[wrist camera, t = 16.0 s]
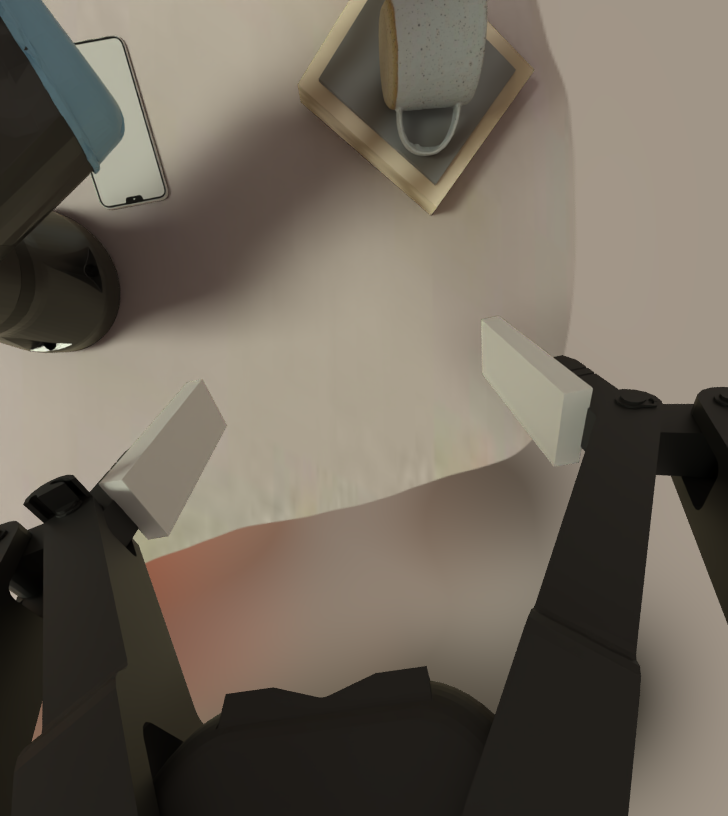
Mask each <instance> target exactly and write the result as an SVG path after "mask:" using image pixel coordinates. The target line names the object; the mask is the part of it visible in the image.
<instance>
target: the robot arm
mask: <svg viewBox="0 0 728 816" xmlns="http://www.w3.org/2000/svg"><path fill="white" fill-rule="evenodd" d="M124 132H125V123H124V117H123V114H122V111H121V109H120V107H119V105H118V103H117V102H116V100H115V99H114V97H113V96H112V94H111V93H110V92H109V90H108V89H107V87H106V86H105V85H104V83H103V82H102V80H101V79H100V78H99V76H98V75H97V74H96V72H95V71H94V70H93V68H92V67H91V66H90V64H89V63H88V61H87V60H86V59H85V57H84V56H83V55H82V53H81V52H80V51H79V49H78V48H77V47H76V45H75V44H74V43H73V41H72V40H71V39H70V37H69V36H68V35H67V33H66V32H65V31H64V29H63V28H62V27H61V26H60V24H59V23H58V22H57V20H56V19H55V18H54V16H53V15H52V14H51V12H50V11H49V10H48V8H47V7H46V6H45V4H44V3H43V2H42V0H0V343H3V344H7V345H10V346H13V347H17V348H20V349H24V350H28V351H33V352H41V353H57V352H71V351H76V350H80V349H83V348H86V347H88V346H90V345H92V344H94V343H95V342H97V341H98V340H99V339H101V338H102V337H103V336H104V335H105V334H106V333H107V331H108V330H109V329H110V327H111V326H112V324H113V322H114V320H115V318H116V315H117V312H118V308H119V301H120V288H119V281H118V277H117V273H116V270H115V267H114V265H113V263H112V260H111V259H110V257H109V255H108V253H107V252H106V250H105V249H104V247H103V246H102V245H101V243H100V242H99V241H98V240H97V239H96V238H95V237H94V236H93V235H92V234H91V233H90V232H89V231H88V230H87V229H85V228H84V227H83V226H81V225H80V224H78V223H77V222H75V221H73V220H71V219H69V218H67V217H65V216H63V215H61V214H58V213H56V212H54V211H53V210H54V209H55V208H56V207H57V206H58V205H59V204H60V203H61V202H62V201H63V200H64V199H65V198H66V197H67V196H68V195H69V194H70V193H71V192H72V191H73V190H74V189H75V188H76V187H77V186H78V185H79V184H80V183H81V182H82V181H83V180H84V179H85V178H86V177H87V176H88V175H89V174H90V173H91V172H93V173H94V174H97V173H98V172H99V171H100V164H101V163H102V162H103V160H104V159H105V158H106V157H107V156H108V155H109V154H110V153H111V151H112V150H113V149H114V148H115V147H116V146H117V145H118V144H119V143H120V141H121V140H122V138H123V136H124ZM481 331H482V374H483V376H484V377H485V378H486V379H487V381H488V382H489V383H490V385H491V386H492V387H493V388H494V390H495V391H496V392H497V394H498V395H499V396H500V398H501V399H502V400H503V401H504V403H505V404H506V405H507V407H508V408H509V409H510V411H511V412H512V413H513V414H514V416H515V417H516V418H517V420H518V421H519V422H520V423H521V425H522V426H523V427H524V429H525V430H526V431H527V433H528V434H529V435H530V436H531V438H532V439H533V440H534V441H535V443H536V444H537V445H538V447H539V448H540V449H541V451H542V452H543V453H544V454H545V456H546V457H547V458H548V460H549V461H550V462H551V464H552V465H553V466H554V467H557V466H562V465H568V464H574V463H579V459H580V453H581V449H584V451H585V454H584V457H583V460H582V463H581V466H580V469H579V472H578V475H577V478H576V481H575V484H574V488H573V491H572V494H571V497H570V500H569V503H568V506H567V509H566V512H565V515H564V518H563V521H562V524H561V527H560V531H559V533H558V537H557V540H556V543H555V546H554V549H553V552H552V555H551V558H550V561H549V564H548V567H547V570H546V573H545V577H544V579H543V583H542V586H541V589H540V592H539V595H538V598H537V601H536V604H535V606H534V608H533V609H531V612H530V614H529V616H528V619H527V621H526V624H525V627H524V630H523V633H522V636H521V639H520V642H519V645H518V648H517V651H516V654H515V657H514V660H513V663H512V666H511V669H510V672H509V675H508V678H507V681H506V684H505V687H504V690H503V693H502V696H501V699H500V702H499V705H498V708H497V711H496V714H493V713H492V712H491V711H490V710H489V709H488V708H486V707H485V706H484V705H483V704H482V703H480V702H479V701H477V700H476V699H474V698H473V697H472V696H470V695H469V694H467V693H465V692H463V691H461V690H459V689H457V688H455V687H452V686H449V685H447V684H444V683H440V682H435V681H430V678H429V675H428V670H427V666H425V667H418V668H410V669H402V670H396V671H389V672H382V673H375V674H373V675H371V676H369V677H367V678H365V679H363V680H361V681H359V682H356V683H354V684H352V685H350V686H348V687H346V688H344V689H342V690H340V691H338V692H336V693H333V694H332V695H330V696H327V697H323V698H319V697H314V696H309V695H305V694H300V693H296V692H291V691H287V690H282V689H278V688H267V689H259V690H252V691H245V692H238V693H231V694H226V696H225V700H224V704H223V708H222V712H221V713H220V714H219V715H217V716H215V717H214V718H213V719H211V720H209V721H208V722H206V723H205V724H203V723H202V722H201V720H200V719H199V717H198V715H197V713H196V710H195V708H194V705H193V702H192V699H191V696H190V693H189V690H188V688H187V685H186V682H185V679H184V676H183V673H182V670H181V667H180V664H179V661H178V658H177V656H176V652H175V650H174V647H173V644H172V641H171V638H170V635H169V632H168V629H167V626H166V623H165V621H164V618H163V615H162V612H161V609H160V606H159V603H158V600H157V597H156V594H155V592H154V589H153V586H152V583H151V580H150V577H149V574H148V571H147V568H146V565H145V562H144V559H143V556H142V554H141V551H140V548H139V545H138V544H137V543H136V542H135V541H134V540H133V536H134V535H135V533H136V531H137V530H138V529H139V530H140V531H141V532H142V533H143V534H144V536H145V537H146V538H147V539H148V540H149V539H154V538H160V537H165V536H169V534H170V532H171V530H172V529H173V527H174V525H175V523H176V521H177V519H178V517H179V515H180V513H181V512H182V510H183V508H184V506H185V504H186V502H187V500H188V498H189V496H190V495H191V493H192V491H193V489H194V487H195V485H196V483H197V481H198V479H199V477H200V476H201V474H202V472H203V470H204V468H205V466H206V464H207V462H208V460H209V459H210V457H211V455H212V453H213V451H214V449H215V447H216V445H217V443H218V442H219V440H220V438H221V436H222V434H223V432H224V430H225V428H226V426H227V424H226V423H225V421H224V419H223V417H222V415H221V413H220V411H219V409H218V407H217V406H216V404H215V402H214V400H213V398H212V396H211V394H210V392H209V391H208V389H207V387H206V385H205V383H204V381H203V379H200V380H195V381H191V382H187V383H186V384H185V385H184V386H183V388H182V389H181V390H180V391H179V392H178V393H177V394H176V396H175V397H174V398H173V399H172V400H171V401H170V402H169V404H168V405H167V406H166V407H165V408H164V409H163V410H162V412H161V413H160V414H159V415H158V416H157V417H156V419H155V420H154V421H153V422H152V423H151V424H150V425H149V427H148V428H147V429H146V430H145V431H144V432H143V433H142V435H141V436H140V437H139V438H138V439H137V440H136V442H135V443H134V444H133V445H132V446H131V447H130V448H129V449H128V450H127V451H125V453H124V454H123V455H122V456H121V457H120V458H119V459H118V461H117V463H115V464H114V465H113V466H112V467H111V470H109V471H108V472H107V473H106V474H105V475H104V476H103V478H102V479H101V480H100V481H99V482H98V483H97V484H96V486H95V487H94V488H93V489H92V490H91V491H90V492H89V491H88V490H87V489H86V488H85V487H84V486H83V485H82V484H81V483H80V482H79V481H78V480H77V479H76V478H75V477H74V475H65V476H61V477H58V478H56V479H54V480H51V481H49V482H47V483H46V484H44V485H42V486H41V487H39V488H38V489H37V490H35V491H34V492H33V493H31V494H30V496H29V497H28V498H27V499H26V500H25V502H24V504H23V505H24V506H25V507H27V508H28V509H29V510H30V511H31V512H32V513H33V514H34V515H36V516H37V517H38V518H39V519H40V520H41V521H42V522H43V523H44V524H42V525H39V526H37V527H34V528H32V529H29V530H27V529H25V528H24V527H23V526H22V525H21V524H20V523H18V522H17V521H11V522H7V523H4V524H1V525H0V816H628V811H629V800H630V790H631V780H632V769H633V758H634V749H635V738H636V728H637V717H638V707H639V696H640V682H641V673H640V666H639V664H638V662H637V661H636V648H637V639H638V629H639V621H640V612H641V603H642V594H643V585H644V575H645V567H646V558H647V549H648V540H649V531H650V521H651V513H652V504H653V495H654V486H655V477H656V475H668V476H671V477H672V480H673V482H674V485H675V488H676V490H677V493H678V495H679V498H680V501H681V503H682V506H683V508H684V511H685V514H686V516H687V519H688V522H689V524H690V527H691V529H692V532H693V535H694V537H695V540H696V542H697V545H698V548H699V550H700V553H701V556H702V558H703V561H704V563H705V566H706V569H707V571H708V574H709V577H710V579H711V582H712V584H713V587H714V590H715V592H716V595H717V597H718V600H719V603H720V605H721V608H722V611H723V613H724V616H725V618H726V621H727V623H728V387H714V388H708V389H704V390H702V391H701V392H700V393H699V394H698V395H697V397H696V400H695V402H694V404H662V401H661V400H660V399H658V398H657V397H656V396H654V395H651V394H649V393H647V392H642V391H638V390H630V389H629V390H628V389H621V390H618V389H617V388H615V387H614V386H613V385H611V384H610V383H608V382H607V381H606V380H604V379H603V378H601V377H600V376H599V375H597V374H594V372H593V371H591V370H590V369H589V368H586V366H584V365H583V364H582V363H580V362H579V361H577V360H575V359H572V358H569V357H566V356H563V355H562V356H557V357H552V356H551V355H549V354H548V353H547V352H545V351H544V350H543V349H541V348H540V347H539V346H538V345H536V344H535V343H534V342H532V341H531V340H530V339H528V338H527V337H526V336H525V335H523V334H522V333H521V332H519V331H518V330H517V329H515V328H514V327H513V326H512V325H510V324H509V323H508V322H506V321H505V320H504V319H503V318H501V317H500V316H494V317H490V318H485V319H481ZM9 590H10V591H11V592H13V593H14V594H16V595H17V596H18V597H17V599H16V600H15V599H14V598H13V597H12V596H11V594H10V591H9ZM42 700H43V715H42V717H43V718H42V720H43V721H42V725H43V726H42V734H41V735H40V736H38V737H37V738H36V739H35V740H34V741H32V738H33V734H34V730H35V726H36V723H37V719H38V715H39V711H40V707H41V704H42ZM31 741H32V742H31Z"/></svg>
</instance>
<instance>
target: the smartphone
mask: <svg viewBox="0 0 728 816" xmlns="http://www.w3.org/2000/svg"><path fill="white" fill-rule="evenodd" d="M74 44H75V45H76V47H77V48H78V49H79V51H80V52H81V53H82V55H83V56H84V57H85V59H86V60H87V61H88V63H89V64H90V66H91V67H92V68H93V70H94V71H95V72H96V74H97V75H98V76H99V78H100V79H101V80H102V82H103V83H104V85H105V86H106V87H107V89H108V90H109V92H110V93H111V94H112V96H113V97H114V99H115V100H116V102H117V103H118V105H119V107H120V109H121V111H122V114H123V117H124V123H125V132H124V136H123V138H122V140H121V141H120V143H119V144H118V145H117V146H116V147H115V148H114V149H113V150H112V151H111V153H110V154H109V155H108V156H107V157H106V158H105V159H104V160H103V162H102V163H101V164H100V171H99V172H98V173H97V174H94V173H93V172H91V173H90V175H91V178H92V181H93V184H94V187H95V190H96V193H97V196H98V199H99V201H100V203H101V205H102V206H103V207H105V208H107V209H109V210H115V209H120V208H126V207H131V206H136V205H141V204H146V203H151V202H156V201H161V200H164V199H166V198H167V196H168V188H167V184H166V181H165V178H164V175H163V174H164V173H163V170H162V166H161V162H160V159H159V157H158V152H157V149H156V145H155V143H154V140H153V136H152V133H151V130H150V126H149V123H148V119H147V116H146V112H145V109H144V106H143V102H142V99H141V95H140V92H139V89H138V85H137V82H136V78H135V75H134V72H133V68H132V65H131V61H130V58H129V54H128V51H127V48H126V45H125V43H124V42H123V40H122V39H121V38H120V37H118V36H107V37H101V38H96V39H90V40H85V41H79V42H74Z"/></svg>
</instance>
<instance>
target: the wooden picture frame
mask: <svg viewBox="0 0 728 816" xmlns="http://www.w3.org/2000/svg"><path fill="white" fill-rule="evenodd" d="M384 2H385V0H349V2H348V3H347V5H346V7H345V8H344V10H343V12H342V13H341V15H340V16H339V18H338V20H337V21H336V23H335V25H334V26H333V28H332V29H331V31H330V33H329V34H328V36H327V38H326V39H325V41H324V42H323V44H322V46H321V47H320V49H319V51H318V52H317V54H316V55H315V57H314V59H313V60H312V62H311V64H310V65H309V67H308V68H307V70H306V72H305V73H304V75H303V77H302V78H301V80H300V81H299V83H298V89H299V95H300V100H301V103H303V104H304V105H305V106H306V107H307V108H308V109H309V110H311V111H312V112H313V113H314V114H315V115H316V116H317V117H319V118H320V119H321V120H322V121H323V122H324V123H325V124H327V125H328V126H329V127H330V128H331V129H332V130H333V131H335V132H336V133H337V134H338V135H339V136H340V137H342V138H343V139H344V140H345V141H346V142H347V143H348V144H350V145H351V146H352V147H353V148H354V149H355V150H356V151H358V152H359V153H360V154H361V155H362V156H363V157H364V158H366V159H367V160H368V161H369V162H370V163H371V164H372V165H374V166H375V167H376V168H377V169H378V170H379V171H380V172H382V173H383V174H384V175H385V176H386V177H387V178H389V179H390V180H391V181H392V182H393V183H394V184H395V185H397V186H398V187H399V188H400V189H401V190H402V191H403V192H405V193H406V194H407V195H408V196H409V197H410V198H411V199H413V200H414V201H415V202H416V203H417V204H418V205H419V206H421V207H422V208H423V209H424V210H425V211H426V212H428V213H429V214H430V215H432V213H433V212H434V211H435V209H436V208H437V206H438V205H439V204H440V202H441V201H442V199H443V198H444V197H445V195H446V194H447V192H448V191H449V190H450V188H451V187H452V185H453V184H454V183H455V181H456V180H457V178H458V177H459V175H460V174H461V173H462V171H463V170H464V168H465V167H466V166H467V164H468V163H469V161H470V160H471V159H472V157H473V156H474V154H475V153H476V152H477V150H478V149H479V147H480V146H481V145H482V143H483V142H484V140H485V139H486V138H487V136H488V135H489V133H490V132H491V130H492V129H493V128H494V126H495V125H496V123H497V122H498V121H499V119H500V118H501V116H502V115H503V114H504V112H505V111H506V109H507V108H508V107H509V105H510V104H511V102H512V101H513V100H514V98H515V97H516V95H517V94H518V93H519V91H520V90H521V88H522V87H523V86H524V84H525V83H526V81H527V80H528V78H529V77H530V76H531V74H532V73H533V71H534V69H533V68H532V67H531V66H530V65H529V64H528V63H527V62H526V61H525V60H524V59H523V58H522V56H521V55H520V54H519V53H518V52H517V51H516V50H515V49H514V48H513V47H512V46H511V45H510V44H509V43H508V42H507V41H506V40H505V39H504V38H503V37H502V36H501V35H500V34H499V33H498V31H497V30H496V29H495V28H494V27H493V26H492V25H491V24H490V23H489V22H488V21H487V34H486V43H485V53H484V59H483V65H482V70H481V74H480V79H479V83H478V86H477V88H476V91H475V94H474V96H473V98H472V99H471V101H470V102H469V103H468V104H466V105H462V106H461V110H460V116H459V120H458V124H457V127H456V130H455V132H454V135H453V136H452V138H451V140H450V141H449V143H448V144H447V146H446V147H445V148H444V149H443V150H441V151H440V152H439V153H437V154H434V155H429V156H418V155H415V154H413V153H411V152H409V151H408V150H407V149H406V148H405V146H404V145H403V143H402V141H401V139H400V137H399V133H398V129H397V123H396V111H395V110H392V109H390V108H389V107H388V106H387V105H386V103H385V101H384V97H383V92H382V85H381V76H380V62H379V17H380V10H381V8H382V5H383V3H384ZM452 116H453V107H446V108H432V109H431V108H429V109H422V110H413V111H403V112H402V117H403V118H402V121H403V126H404V133H405V134H406V136H407V138H408V140H409V142H411V143H413V144H419V145H420V146H422V147H435V146H438V145H440V144H441V143H442V142H443V140H444V139H445V137H446V135H447V133H448V131H449V128H450V125H451V121H452Z"/></svg>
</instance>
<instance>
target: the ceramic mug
mask: <svg viewBox="0 0 728 816" xmlns="http://www.w3.org/2000/svg"><path fill="white" fill-rule="evenodd" d="M486 34H487V0H385V2H384V3H383V5H382V8H381V10H380V17H379V62H380V76H381V85H382V92H383V97H384V101H385V103H386V105H387V106H388V107H389V108H390V109H392V110H395V111H396V123H397V129H398V133H399V137H400V139H401V141H402V143H403V145H404V146H405V148H406V149H407V150H408V151H409V152H411V153H413V154H415V155H418V156H429V155H434V154H437V153H439V152H440V151H441V150H443V149H444V148H445V147H446V146H447V144H448V143H449V141H450V140H451V138H452V136H453V135H454V132H455V130H456V127H457V124H458V120H459V116H460V110H461V106H462V105H466V104H468V103H469V102H470V101H471V99H472V98H473V96H474V94H475V91H476V88H477V86H478V83H479V79H480V74H481V70H482V65H483V59H484V53H485V43H486ZM446 107H453V116H452V121H451V125H450V128H449V131H448V133H447V135H446V137H445V139H444V140H443V142H442V143H441V144H440V145H438V146H435V147H422V146H420V145H419V144H413V143H411V142H409V140H408V138H407V136H406V134H405V133H404V126H403V121H402V118H403V117H402V112H403V111H413V110H422V109H429V108H431V109H432V108H446Z"/></svg>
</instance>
